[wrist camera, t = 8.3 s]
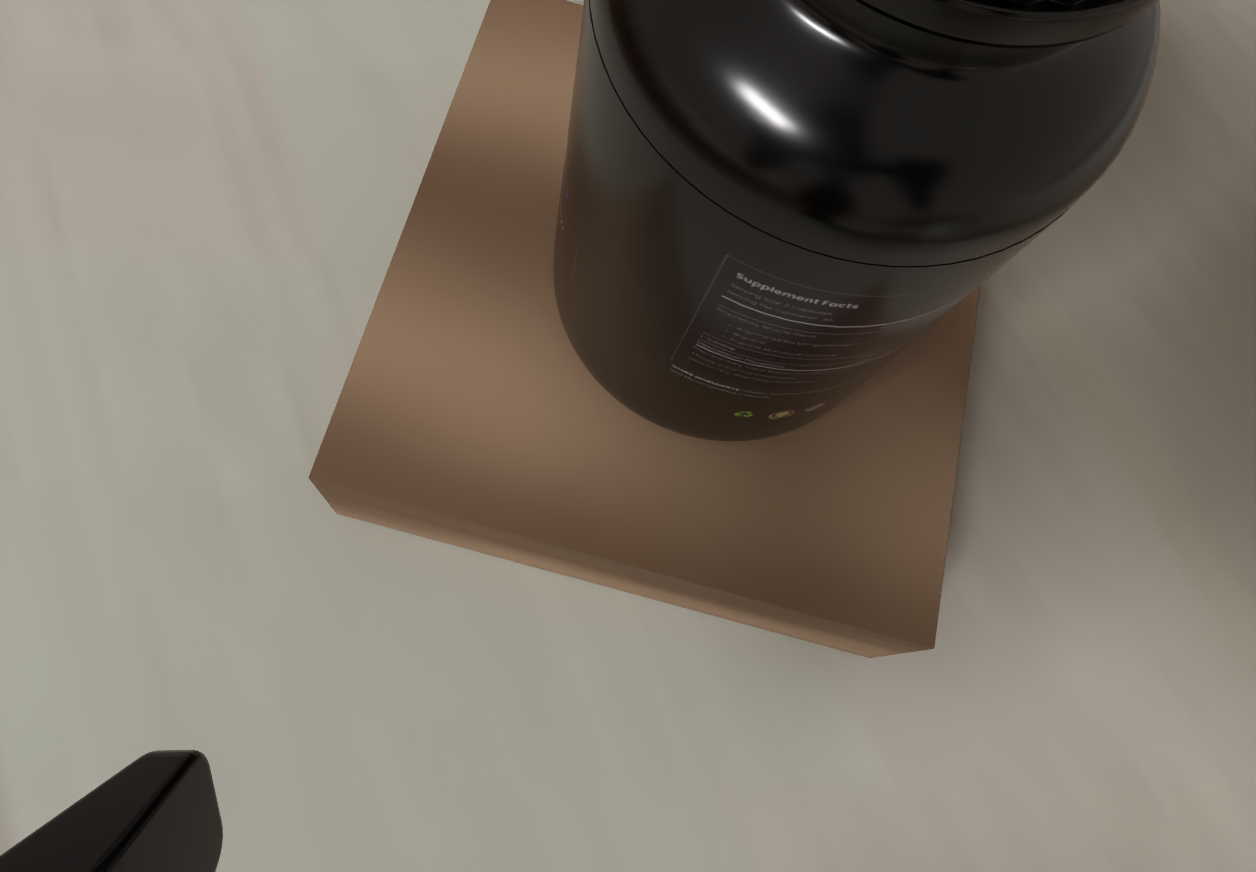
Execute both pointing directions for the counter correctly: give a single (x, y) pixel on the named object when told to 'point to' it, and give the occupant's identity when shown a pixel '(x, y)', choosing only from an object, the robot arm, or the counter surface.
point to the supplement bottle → (816, 184)
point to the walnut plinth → (621, 407)
